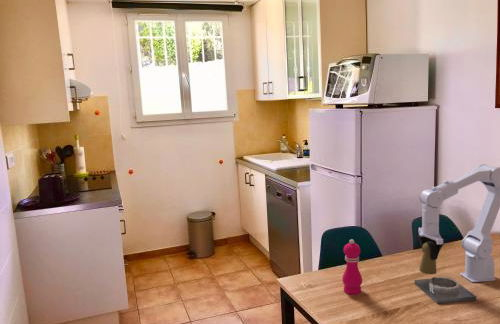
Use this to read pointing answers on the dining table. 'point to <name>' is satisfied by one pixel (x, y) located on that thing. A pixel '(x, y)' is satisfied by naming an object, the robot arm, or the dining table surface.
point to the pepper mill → (352, 269)
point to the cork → (427, 261)
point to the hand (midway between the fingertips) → (430, 256)
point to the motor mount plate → (445, 297)
